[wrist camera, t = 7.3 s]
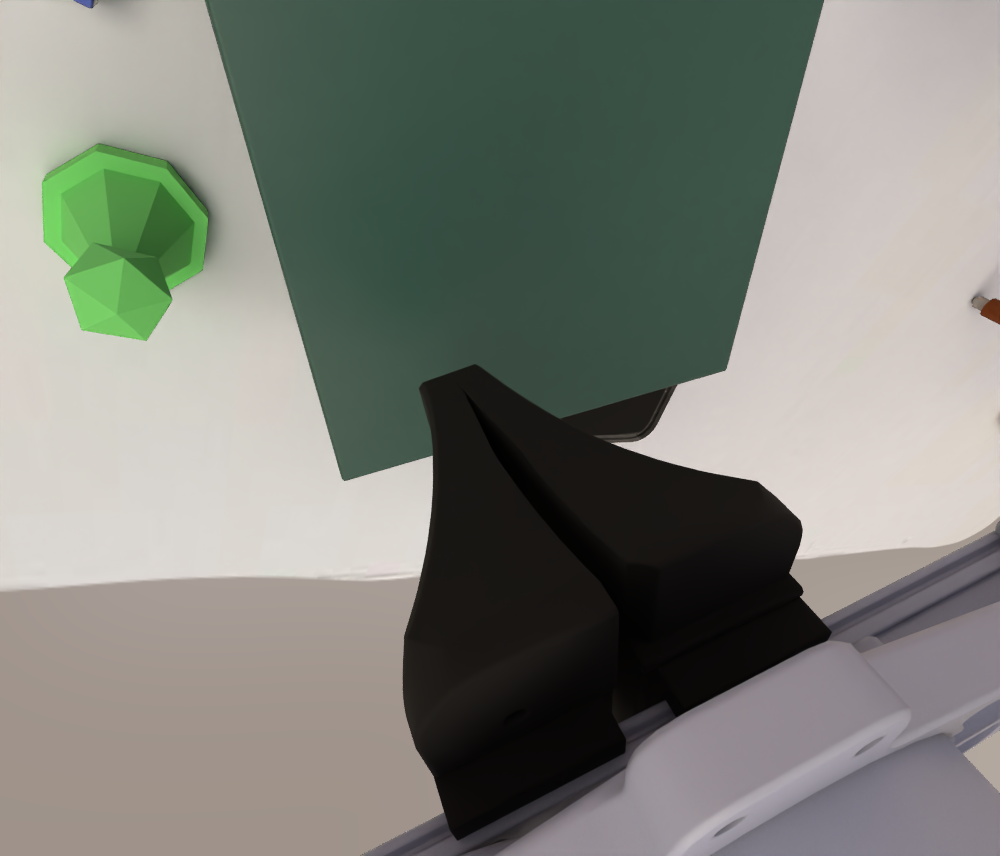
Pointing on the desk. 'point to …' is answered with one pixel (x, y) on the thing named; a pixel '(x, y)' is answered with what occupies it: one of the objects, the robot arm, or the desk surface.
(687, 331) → the bin lid
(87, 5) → the hard drive
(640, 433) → the phone
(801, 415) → the desk surface
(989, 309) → the magnifying glass
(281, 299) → the desk surface
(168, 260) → the game piece
